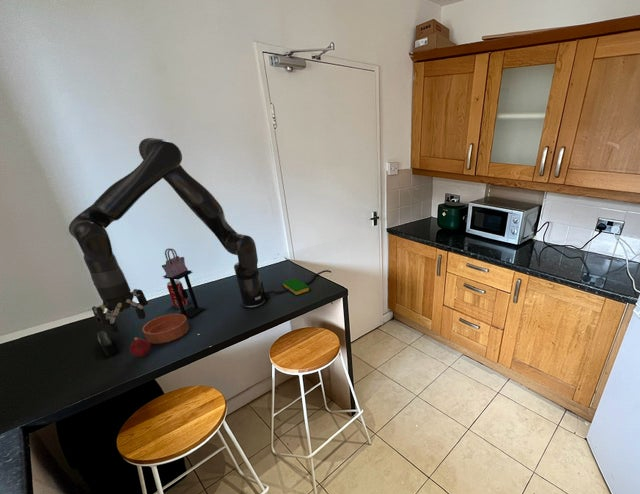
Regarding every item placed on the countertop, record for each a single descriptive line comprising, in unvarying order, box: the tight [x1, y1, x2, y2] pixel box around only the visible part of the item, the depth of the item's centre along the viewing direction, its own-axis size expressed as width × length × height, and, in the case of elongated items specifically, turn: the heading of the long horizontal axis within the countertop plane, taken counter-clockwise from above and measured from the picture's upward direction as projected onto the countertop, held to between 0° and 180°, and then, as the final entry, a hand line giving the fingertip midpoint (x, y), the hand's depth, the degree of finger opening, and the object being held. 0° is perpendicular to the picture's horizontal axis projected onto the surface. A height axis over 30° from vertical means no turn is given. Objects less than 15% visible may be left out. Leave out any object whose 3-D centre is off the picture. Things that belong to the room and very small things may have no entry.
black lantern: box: [161, 247, 206, 319], centre depth 131 cm, size 10×8×30 cm
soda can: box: [166, 279, 189, 309], centre depth 141 cm, size 6×6×12 cm
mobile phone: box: [97, 330, 117, 356], centre depth 115 cm, size 5×3×15 cm
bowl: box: [141, 313, 190, 345], centre depth 123 cm, size 14×14×5 cm
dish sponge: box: [282, 277, 310, 296], centre depth 159 cm, size 7×14×2 cm, turn 44°
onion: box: [129, 336, 152, 358], centre depth 110 cm, size 6×6×8 cm
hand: (129, 324), depth 106 cm, fingers open, 8 cm apart
